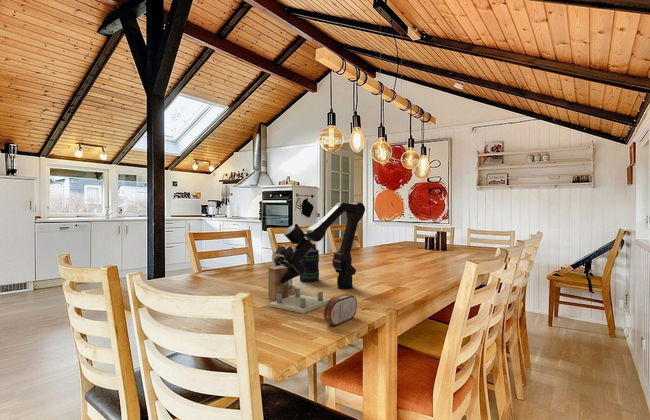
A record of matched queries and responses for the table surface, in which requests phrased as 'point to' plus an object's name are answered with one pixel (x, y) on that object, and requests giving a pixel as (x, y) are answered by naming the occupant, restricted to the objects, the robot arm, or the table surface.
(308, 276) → the dark ribbed canister
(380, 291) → the table surface
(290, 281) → the milk carton
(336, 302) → the tin
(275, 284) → the walnut block
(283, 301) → the peg stand
